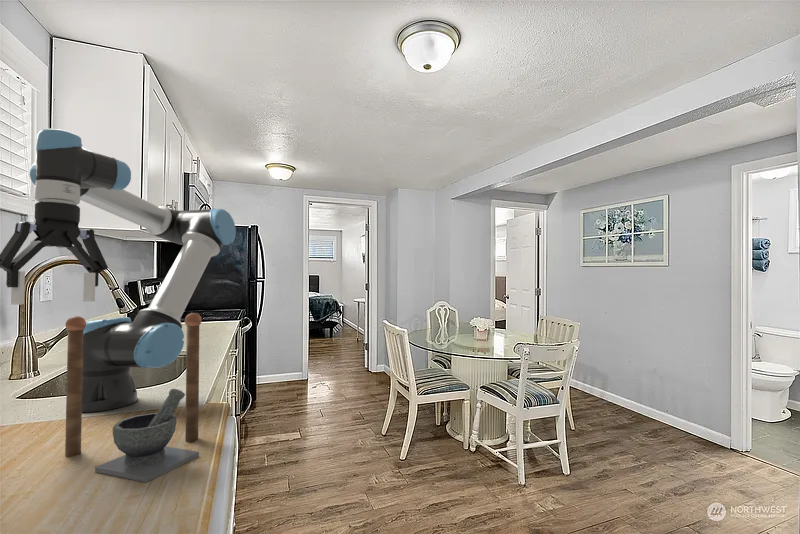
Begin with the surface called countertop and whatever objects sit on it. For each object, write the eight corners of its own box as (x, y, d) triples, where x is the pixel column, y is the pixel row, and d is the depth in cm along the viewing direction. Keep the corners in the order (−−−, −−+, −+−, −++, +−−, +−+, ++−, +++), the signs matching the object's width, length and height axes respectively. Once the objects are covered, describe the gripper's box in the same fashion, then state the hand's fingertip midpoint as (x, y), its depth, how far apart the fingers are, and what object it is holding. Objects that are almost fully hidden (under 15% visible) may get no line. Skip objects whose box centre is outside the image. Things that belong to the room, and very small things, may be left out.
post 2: (192, 436, 89) (193, 312, 90) (203, 438, 88) (205, 312, 89) (179, 441, 86) (181, 313, 87) (191, 443, 85) (193, 313, 86)
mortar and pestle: (111, 476, 69) (113, 402, 69) (112, 457, 77) (113, 391, 77) (187, 459, 75) (188, 392, 76) (181, 443, 83) (181, 382, 83)
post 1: (76, 449, 82) (79, 315, 83) (87, 451, 81) (90, 315, 82) (58, 456, 79) (61, 316, 80) (69, 458, 78) (72, 316, 79)
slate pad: (151, 448, 83) (151, 444, 83) (198, 456, 79) (198, 451, 79) (95, 471, 73) (95, 467, 73) (145, 482, 68) (145, 477, 68)
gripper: (-4, 190, 77) (-7, 306, 76) (126, 211, 100) (124, 300, 99) (-28, 193, 79) (-32, 305, 78) (104, 213, 103) (102, 300, 102)
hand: (55, 303), depth 89 cm, fingers open, 13 cm apart
